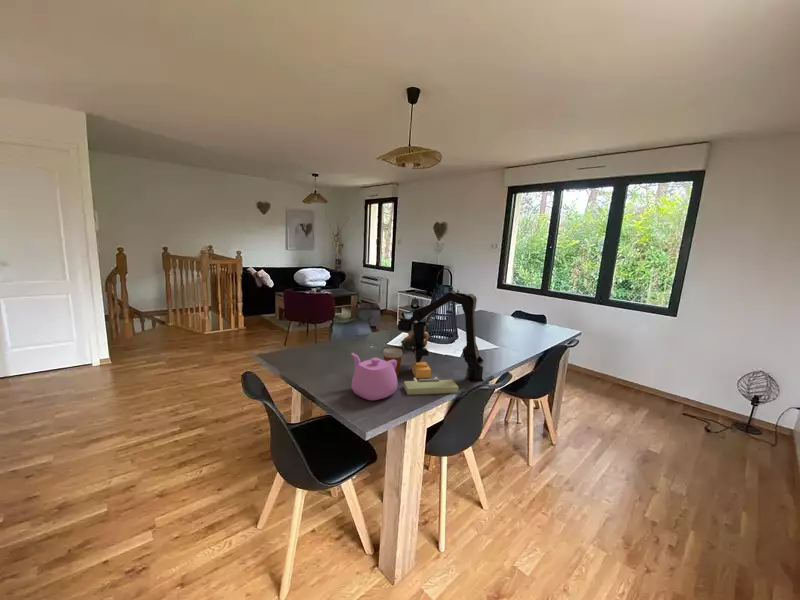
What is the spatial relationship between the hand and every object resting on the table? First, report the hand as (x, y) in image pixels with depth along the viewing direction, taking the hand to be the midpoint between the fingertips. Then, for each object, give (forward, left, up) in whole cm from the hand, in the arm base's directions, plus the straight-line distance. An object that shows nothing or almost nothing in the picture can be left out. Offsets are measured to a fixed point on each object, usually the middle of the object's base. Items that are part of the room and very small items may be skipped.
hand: (417, 363), depth 180 cm
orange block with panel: (0, +9, -2) cm, 9 cm away
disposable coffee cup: (+14, +8, -2) cm, 16 cm away
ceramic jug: (-7, -34, -2) cm, 35 cm away
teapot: (+25, +27, -2) cm, 37 cm away
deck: (0, +23, -2) cm, 23 cm away
